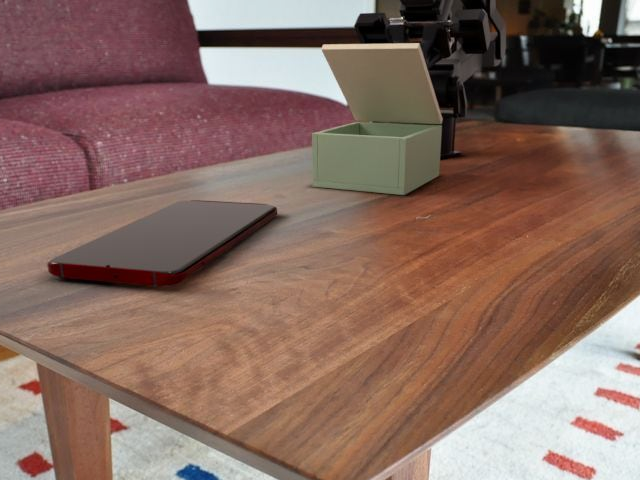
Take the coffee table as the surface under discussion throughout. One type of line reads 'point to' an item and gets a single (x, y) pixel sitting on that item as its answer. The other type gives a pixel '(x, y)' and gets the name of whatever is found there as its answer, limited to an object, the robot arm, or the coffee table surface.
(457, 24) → the robot arm
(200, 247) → the smartphone
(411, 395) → the coffee table surface
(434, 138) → the case
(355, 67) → the cover
